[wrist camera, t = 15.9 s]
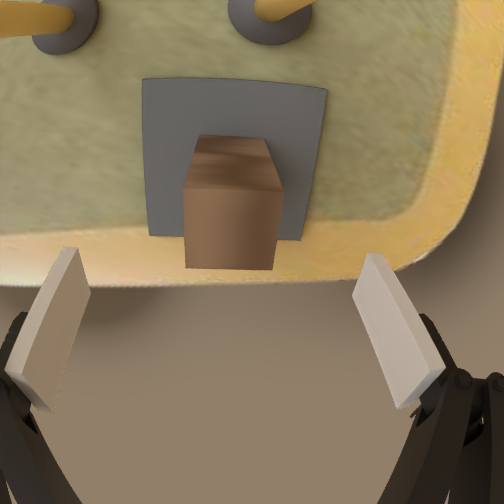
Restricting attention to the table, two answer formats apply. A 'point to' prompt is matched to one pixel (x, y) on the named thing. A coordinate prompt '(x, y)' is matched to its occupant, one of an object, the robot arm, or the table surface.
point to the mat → (227, 124)
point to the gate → (86, 15)
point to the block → (231, 204)
